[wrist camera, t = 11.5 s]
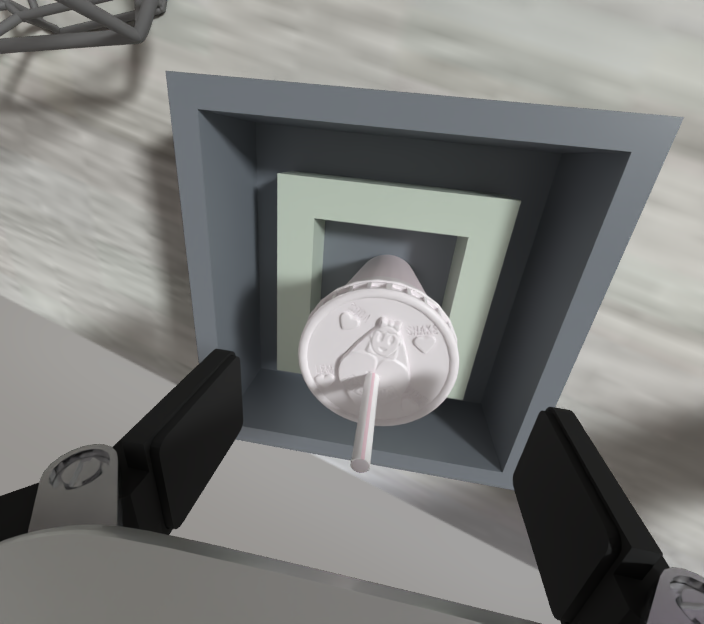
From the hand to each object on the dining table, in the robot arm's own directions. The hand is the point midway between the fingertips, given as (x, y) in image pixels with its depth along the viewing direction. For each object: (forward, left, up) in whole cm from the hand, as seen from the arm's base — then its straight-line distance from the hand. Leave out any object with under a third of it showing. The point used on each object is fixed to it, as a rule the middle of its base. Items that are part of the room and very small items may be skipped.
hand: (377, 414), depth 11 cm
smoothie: (0, 0, -13) cm, 13 cm away
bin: (+1, 0, -14) cm, 14 cm away
